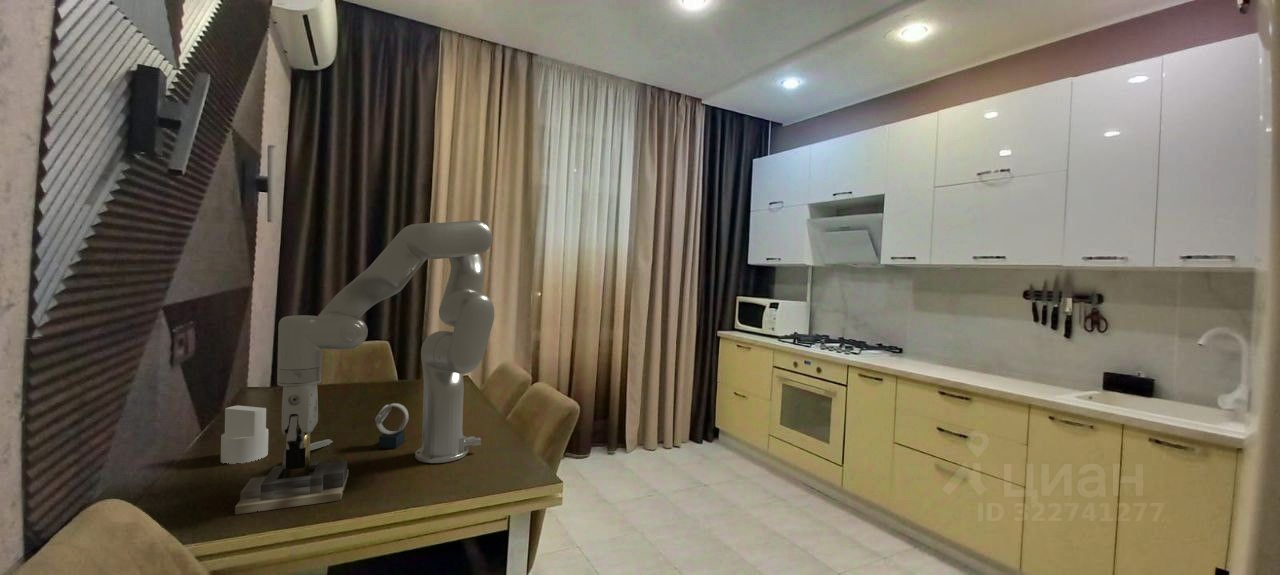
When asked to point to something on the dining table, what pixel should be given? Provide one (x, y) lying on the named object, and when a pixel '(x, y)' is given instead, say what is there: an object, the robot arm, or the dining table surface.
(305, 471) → the brass pin
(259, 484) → the gray stepped fixture base
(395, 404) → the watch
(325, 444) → the caliper
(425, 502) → the dining table surface
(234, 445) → the cylinder with rectangular tab
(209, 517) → the dining table surface
